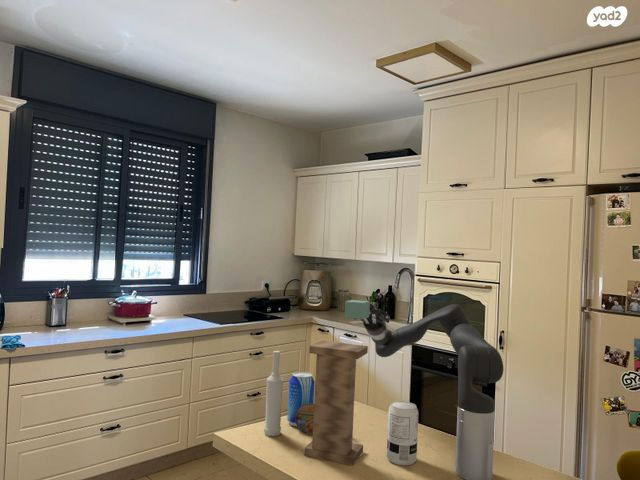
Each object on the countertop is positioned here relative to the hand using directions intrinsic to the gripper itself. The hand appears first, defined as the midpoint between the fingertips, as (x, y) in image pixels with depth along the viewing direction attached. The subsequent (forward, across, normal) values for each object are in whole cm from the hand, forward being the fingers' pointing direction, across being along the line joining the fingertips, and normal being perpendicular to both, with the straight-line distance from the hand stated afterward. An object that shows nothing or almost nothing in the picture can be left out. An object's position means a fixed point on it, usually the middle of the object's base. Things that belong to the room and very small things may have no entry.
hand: (366, 305), depth 157 cm
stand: (+3, 0, +47) cm, 47 cm away
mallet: (+2, 0, +4) cm, 5 cm away
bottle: (-1, -22, +45) cm, 50 cm away
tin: (-8, -10, +41) cm, 43 cm away
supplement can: (-1, +18, +45) cm, 48 cm away
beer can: (-12, -18, +39) cm, 44 cm away
